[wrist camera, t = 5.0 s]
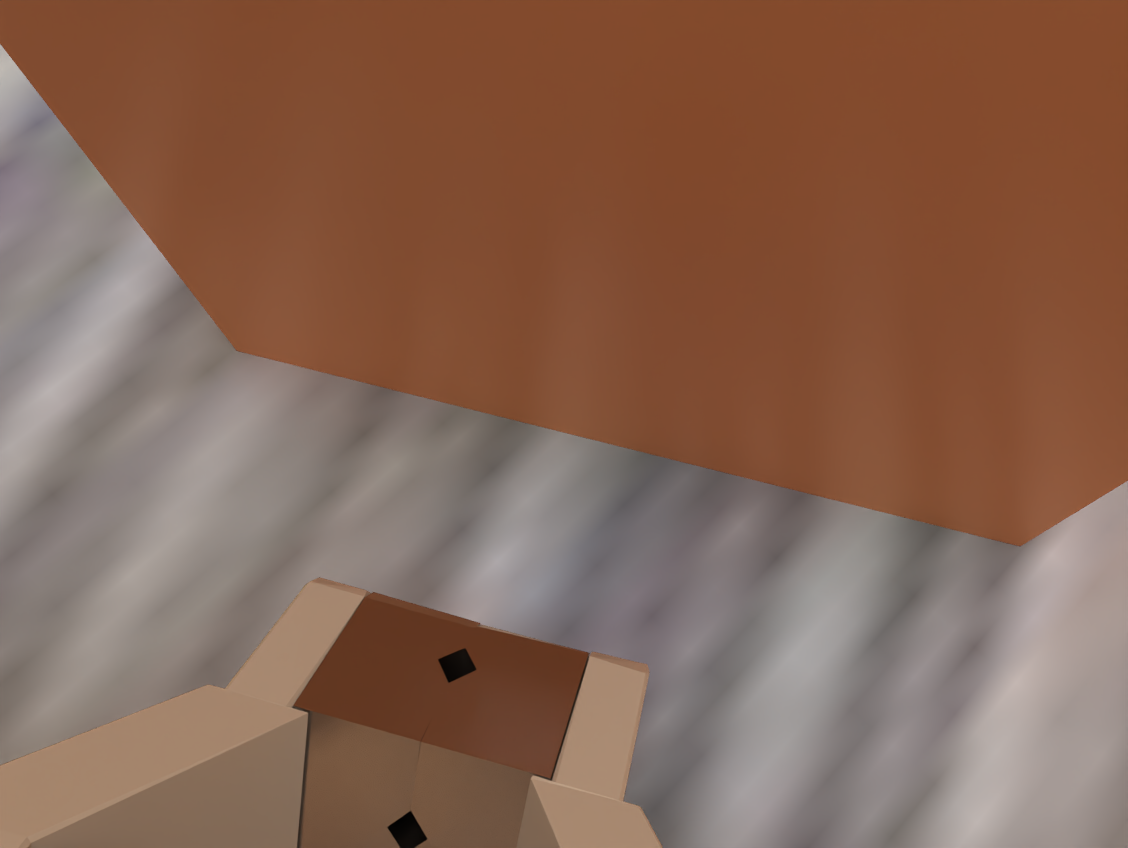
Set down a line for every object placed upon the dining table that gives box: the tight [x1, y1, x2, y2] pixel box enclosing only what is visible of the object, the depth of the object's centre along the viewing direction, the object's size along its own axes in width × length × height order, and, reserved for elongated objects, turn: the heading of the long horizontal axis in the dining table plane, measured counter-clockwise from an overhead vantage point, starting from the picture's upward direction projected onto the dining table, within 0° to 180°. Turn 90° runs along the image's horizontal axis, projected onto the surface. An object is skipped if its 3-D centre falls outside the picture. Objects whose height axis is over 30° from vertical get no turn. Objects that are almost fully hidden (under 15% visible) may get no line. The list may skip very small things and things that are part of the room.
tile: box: [0, 0, 1128, 546], centre depth 11 cm, size 2×12×11 cm, turn 75°
